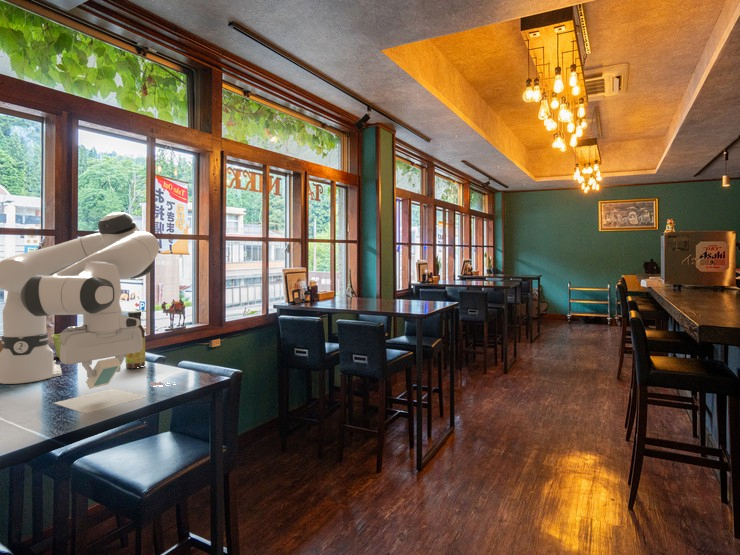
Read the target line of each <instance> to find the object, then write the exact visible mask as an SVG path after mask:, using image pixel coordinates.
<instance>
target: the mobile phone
mask: <svg viewBox="0 0 740 555" xmlns="http://www.w3.org/2000/svg"><path fill="white" fill-rule="evenodd" d="M174 383H175V382H174ZM167 384H170V383H168V382H167ZM149 385H150V386H151V388H157V386H159V387H164V386H163V383H161V382H159V383H156V382H155V383H153V382H151V381H150V383H149ZM164 385H166V384H164ZM166 386H167V385H166Z"/></svg>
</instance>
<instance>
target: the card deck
mask: <svg viewBox="0 0 740 555" xmlns="http://www.w3.org/2000/svg"><path fill="white" fill-rule="evenodd" d="M121 365H122V364H121V363H120V362H119V360H118V358H117V357H116V358H115V357H112V358H111V357H110V358H105V359H100V360H98V361H97V362H96V364H95V365H94V368H92V370H96V377H92V378H88V377H87V379H86V381H85V384H86V385H87V387H88V389H89V390H91V389H95V388H100V387H104V386H108V385H110V383H111V382H112V379H113V378H114V376H115V374H116V373H118V372H117V370H118V368H119V367H120V368H121Z"/></svg>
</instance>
